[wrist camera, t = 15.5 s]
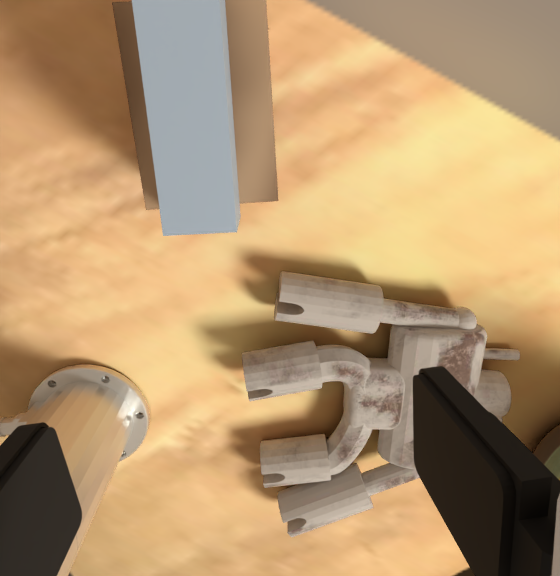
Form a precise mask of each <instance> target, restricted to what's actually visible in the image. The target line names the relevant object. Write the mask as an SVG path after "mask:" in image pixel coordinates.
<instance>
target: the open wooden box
mask: <svg viewBox="0 0 560 576" xmlns="http://www.w3.org/2000/svg"><path fill="white" fill-rule="evenodd" d="M112 5H113V11H114V17H115V23H116V29H117V35H118V41H119V47H120V54H121V60H122V66H123V72H124V78H125V84H126V90H127V96H128V102H129V109H130V115H131V121H132V127H133V133H134V139H135V145H136V151H137V157H138V164H139V170H140V176H141V182H142V188H143V194H144V200H145V206H146V210H151V209H160V208H159V200H158V193H157V185H156V178H155V170H154V163H153V155H152V148H151V141H150V133H149V126H148V118H147V111H146V103H145V96H144V88H143V81H142V73H141V66H140V58H139V51H138V43H137V36H136V28H135V21H134V13H133V6H132V2H113V3H112ZM225 7H226V22H227V36H228V50H229V64H230V78H231V92H232V106H233V120H234V134H235V148H236V162H237V176H238V190H239V204H240V203H255V202H270V201H278V188H277V172H276V155H275V138H274V122H273V105H272V88H271V72H270V55H269V38H268V22H267V5H266V0H225Z"/></svg>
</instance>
